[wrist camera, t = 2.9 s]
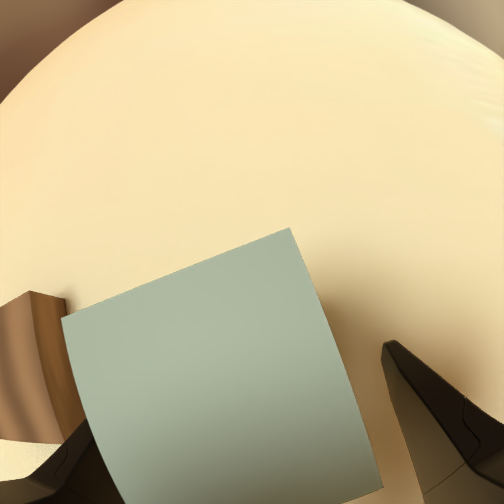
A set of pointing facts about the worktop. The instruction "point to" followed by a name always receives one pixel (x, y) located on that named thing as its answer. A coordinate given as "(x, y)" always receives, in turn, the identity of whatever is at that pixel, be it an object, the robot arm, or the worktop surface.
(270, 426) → the tall block
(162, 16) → the worktop surface
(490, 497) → the robot arm
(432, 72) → the worktop surface
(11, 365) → the base brick
